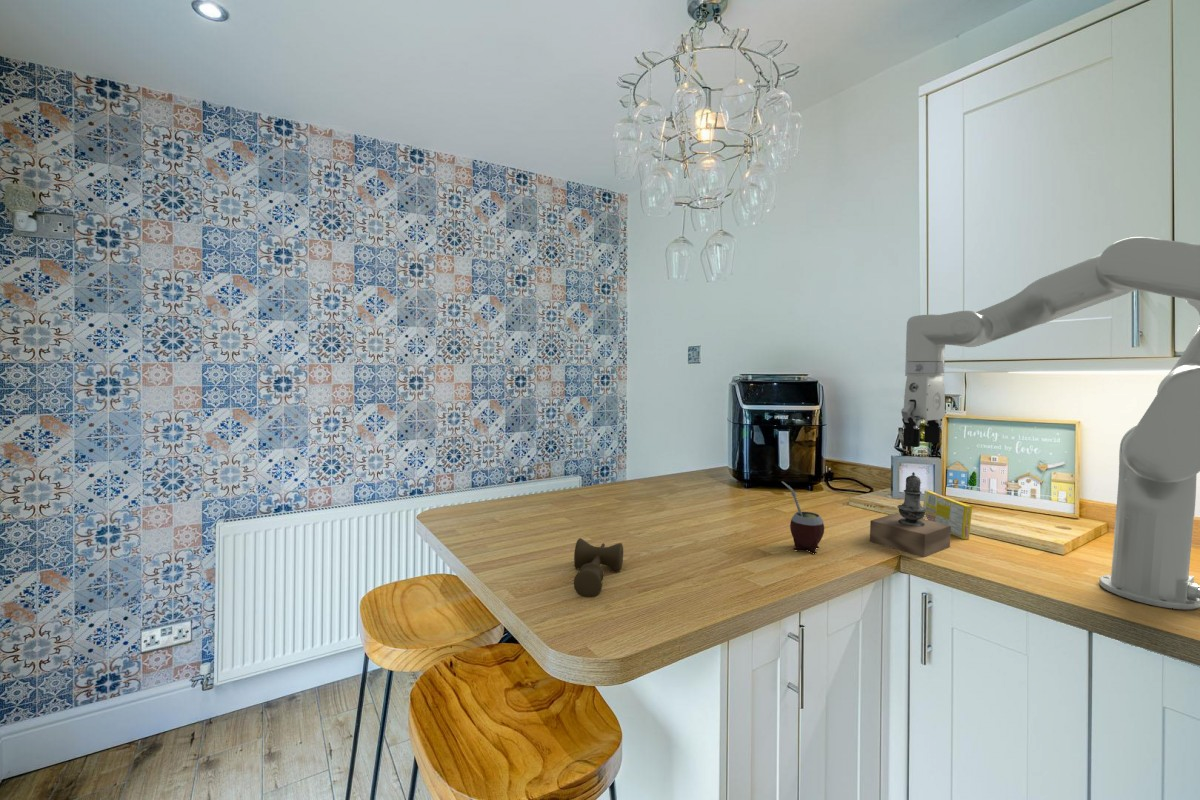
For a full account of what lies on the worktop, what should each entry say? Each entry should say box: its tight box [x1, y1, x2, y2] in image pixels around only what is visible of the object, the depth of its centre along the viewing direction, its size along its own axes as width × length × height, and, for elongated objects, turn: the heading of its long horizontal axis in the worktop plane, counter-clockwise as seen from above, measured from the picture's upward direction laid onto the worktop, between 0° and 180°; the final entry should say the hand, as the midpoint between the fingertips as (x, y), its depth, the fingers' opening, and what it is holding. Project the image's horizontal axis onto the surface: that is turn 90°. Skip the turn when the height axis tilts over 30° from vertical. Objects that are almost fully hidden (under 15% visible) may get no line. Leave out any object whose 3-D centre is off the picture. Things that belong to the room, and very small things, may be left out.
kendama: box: [573, 537, 624, 598], centre depth 100 cm, size 6×10×20 cm
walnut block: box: [869, 512, 952, 558], centre depth 119 cm, size 12×12×5 cm
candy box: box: [922, 490, 973, 540], centre depth 131 cm, size 16×2×8 cm, turn 179°
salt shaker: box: [897, 471, 927, 527], centre depth 119 cm, size 6×6×12 cm
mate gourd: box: [781, 481, 825, 555], centre depth 115 cm, size 8×8×15 cm
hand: (921, 444), depth 118 cm, fingers open, 9 cm apart
